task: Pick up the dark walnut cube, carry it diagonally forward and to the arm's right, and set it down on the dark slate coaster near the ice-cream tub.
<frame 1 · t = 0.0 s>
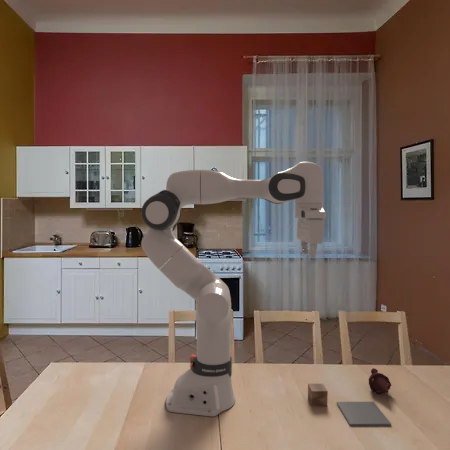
hand: (308, 255, 115), 48 cm above the table, fingers open, 8 cm apart
cube: (317, 402, 116), on the table
icecream: (379, 393, 122), on the table
coaster: (362, 414, 109), on the table
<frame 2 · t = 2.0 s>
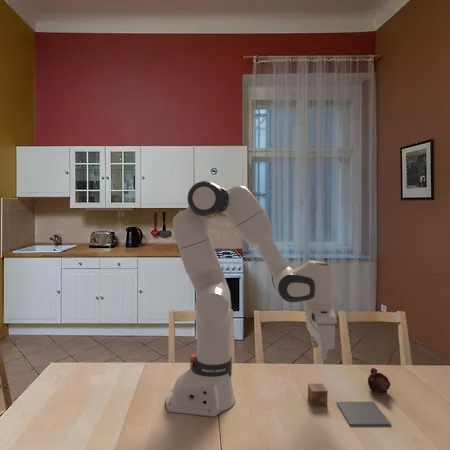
hand: (319, 352, 116), 16 cm above the table, fingers open, 8 cm apart
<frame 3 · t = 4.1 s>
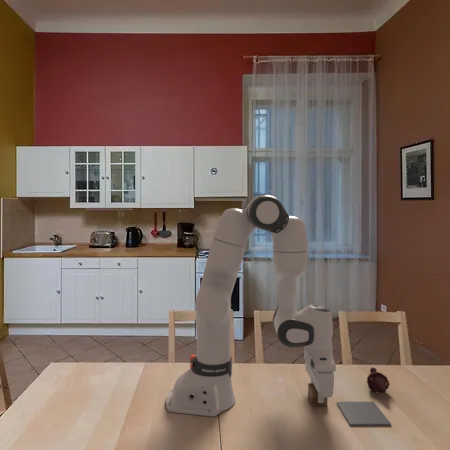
hand: (317, 396, 116), 2 cm above the table, fingers closed on cube, 5 cm apart
cube: (317, 401, 116), on the table, touching gripper
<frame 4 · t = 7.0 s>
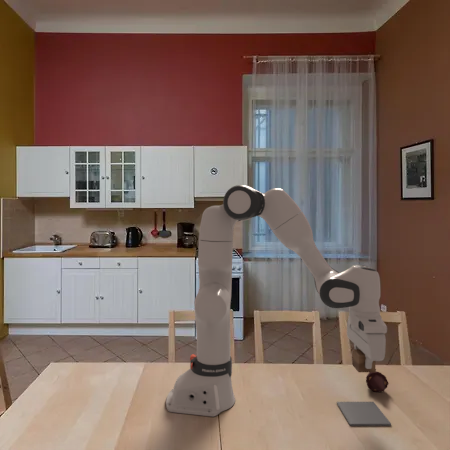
hand: (363, 363, 109), 16 cm above the table, fingers closed on cube, 5 cm apart
cube: (363, 368, 109), point 14 cm above the table, touching gripper
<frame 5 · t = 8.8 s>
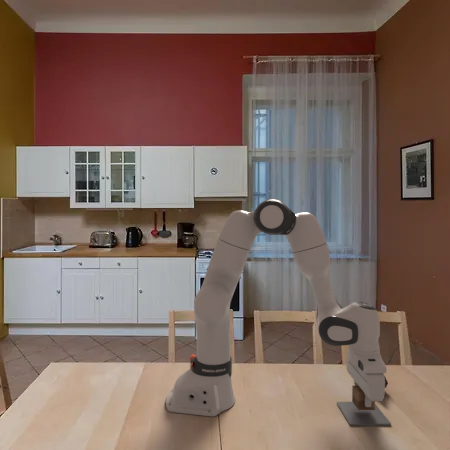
hand: (363, 400, 109), 4 cm above the table, fingers closed on cube, 5 cm apart
cube: (363, 405, 109), point 3 cm above the table, touching gripper
when the fingers open (3 cm above the table, at t = 10.0 s): cube stays where it is, resting on coaster.
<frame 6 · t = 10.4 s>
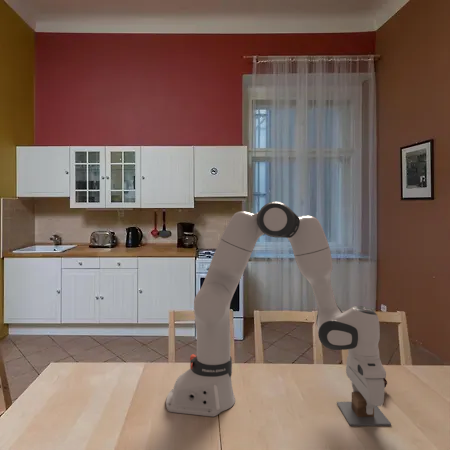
hand: (362, 404, 109), 3 cm above the table, fingers open, 8 cm apart
cube: (362, 412, 109), point 1 cm above the table, touching coaster
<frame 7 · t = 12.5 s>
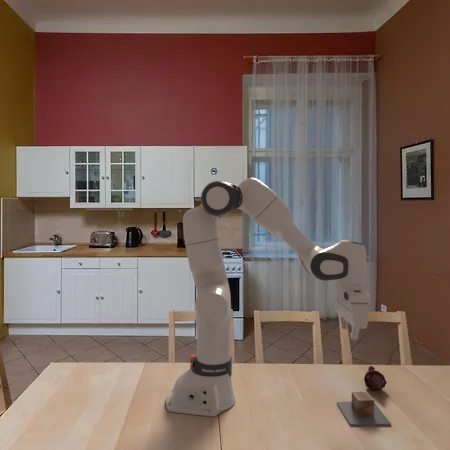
hand: (348, 333, 114), 23 cm above the table, fingers open, 8 cm apart
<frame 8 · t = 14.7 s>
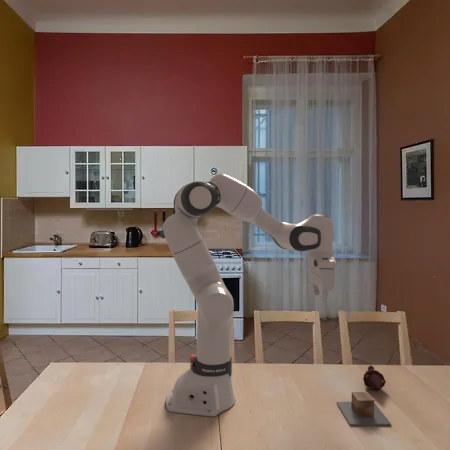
hand: (319, 298, 128), 31 cm above the table, fingers open, 8 cm apart
at the end: cube inside the target area on the coaster (0.0 cm from its centre), point 0.6 cm above the coaster's base; cube tilted 0°; the gripper is holding nothing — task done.
